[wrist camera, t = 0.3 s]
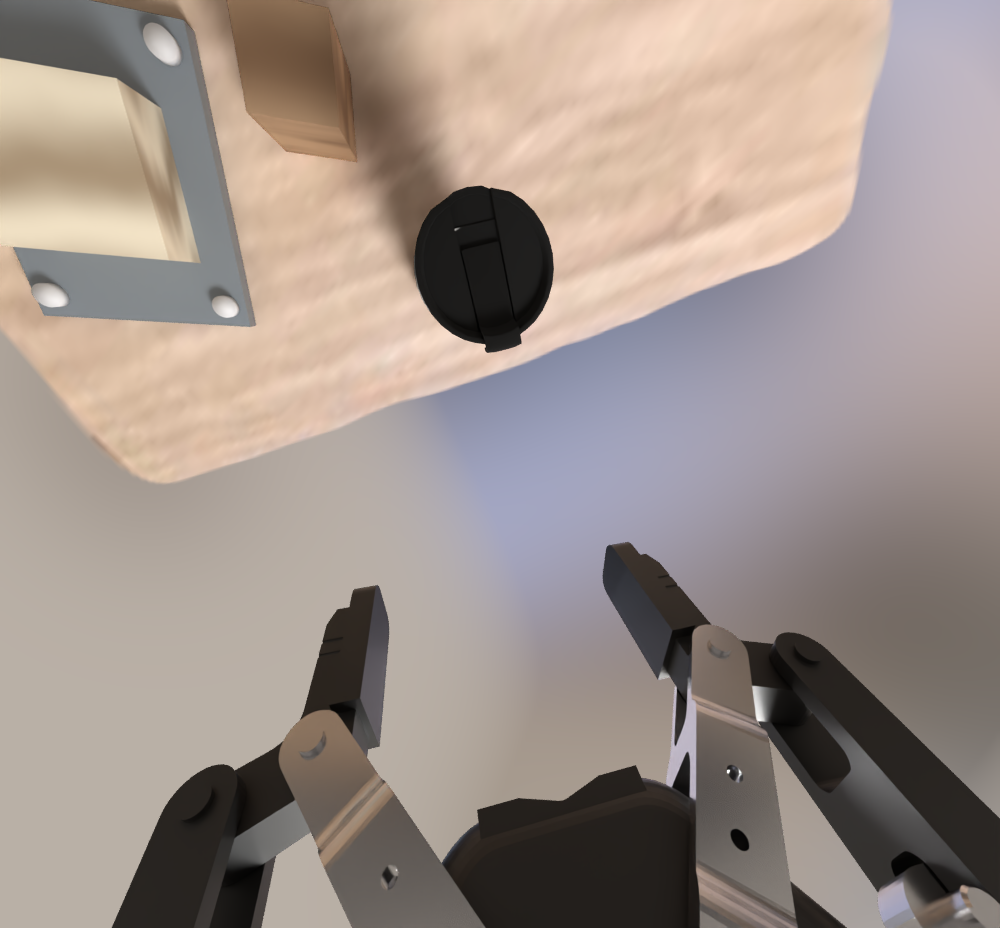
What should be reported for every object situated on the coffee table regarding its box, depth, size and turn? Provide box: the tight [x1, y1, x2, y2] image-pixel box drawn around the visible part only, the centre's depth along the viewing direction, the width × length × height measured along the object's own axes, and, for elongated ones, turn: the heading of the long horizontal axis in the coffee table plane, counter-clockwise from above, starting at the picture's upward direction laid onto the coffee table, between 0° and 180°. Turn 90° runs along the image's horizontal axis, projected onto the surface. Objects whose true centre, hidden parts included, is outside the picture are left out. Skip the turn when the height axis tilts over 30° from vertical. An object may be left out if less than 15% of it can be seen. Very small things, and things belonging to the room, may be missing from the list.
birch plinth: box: [0, 58, 201, 263], centre depth 23 cm, size 9×9×4 cm
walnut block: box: [227, 0, 357, 162], centre depth 23 cm, size 5×5×7 cm
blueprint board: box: [0, 0, 256, 327], centre depth 25 cm, size 18×14×2 cm
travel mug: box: [414, 186, 554, 353], centre depth 24 cm, size 6×7×20 cm
